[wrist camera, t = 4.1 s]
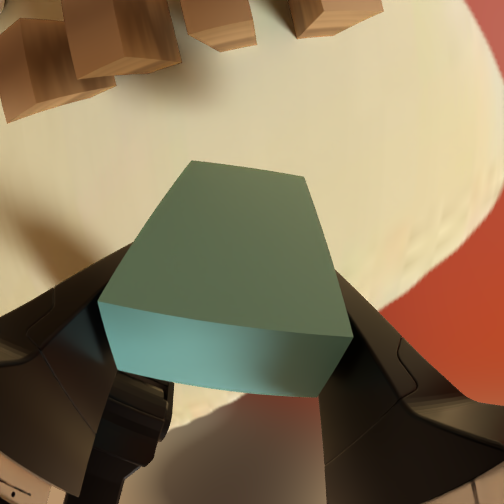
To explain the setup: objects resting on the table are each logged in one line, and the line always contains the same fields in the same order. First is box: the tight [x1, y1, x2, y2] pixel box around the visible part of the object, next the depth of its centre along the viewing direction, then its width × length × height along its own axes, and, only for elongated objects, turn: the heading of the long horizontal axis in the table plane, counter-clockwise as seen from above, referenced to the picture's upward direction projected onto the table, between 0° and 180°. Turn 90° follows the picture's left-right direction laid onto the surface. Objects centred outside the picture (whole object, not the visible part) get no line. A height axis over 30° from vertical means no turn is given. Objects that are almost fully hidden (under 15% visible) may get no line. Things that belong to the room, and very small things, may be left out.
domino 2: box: [61, 0, 182, 80], centre depth 12 cm, size 5×2×9 cm, turn 12°
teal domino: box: [97, 161, 353, 397], centre depth 10 cm, size 5×2×9 cm, turn 82°
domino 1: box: [0, 18, 116, 124], centre depth 12 cm, size 5×2×9 cm, turn 12°
